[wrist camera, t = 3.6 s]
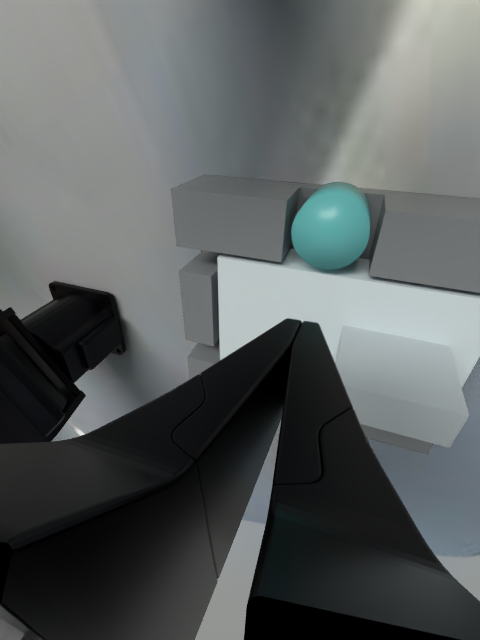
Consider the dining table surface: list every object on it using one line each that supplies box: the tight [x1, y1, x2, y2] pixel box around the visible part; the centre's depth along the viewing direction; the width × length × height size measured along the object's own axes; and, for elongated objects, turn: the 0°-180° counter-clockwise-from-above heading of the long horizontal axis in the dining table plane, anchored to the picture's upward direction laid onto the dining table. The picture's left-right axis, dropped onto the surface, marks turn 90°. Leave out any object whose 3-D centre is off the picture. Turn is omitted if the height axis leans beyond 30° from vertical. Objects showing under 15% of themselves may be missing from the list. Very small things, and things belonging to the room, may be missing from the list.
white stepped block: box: [217, 248, 480, 448], centre depth 17 cm, size 14×7×7 cm, turn 89°
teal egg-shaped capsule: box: [291, 182, 371, 270], centre depth 16 cm, size 3×3×3 cm
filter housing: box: [171, 175, 480, 454], centre depth 20 cm, size 16×14×4 cm
